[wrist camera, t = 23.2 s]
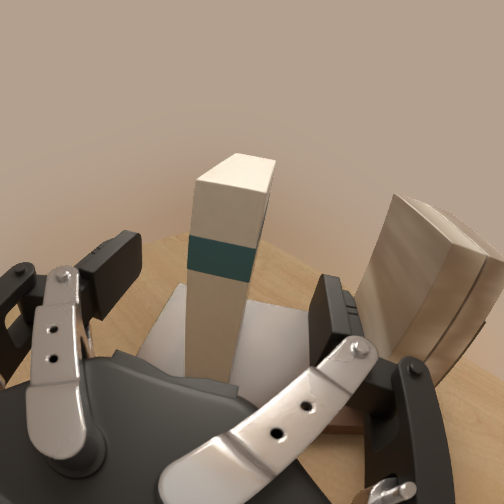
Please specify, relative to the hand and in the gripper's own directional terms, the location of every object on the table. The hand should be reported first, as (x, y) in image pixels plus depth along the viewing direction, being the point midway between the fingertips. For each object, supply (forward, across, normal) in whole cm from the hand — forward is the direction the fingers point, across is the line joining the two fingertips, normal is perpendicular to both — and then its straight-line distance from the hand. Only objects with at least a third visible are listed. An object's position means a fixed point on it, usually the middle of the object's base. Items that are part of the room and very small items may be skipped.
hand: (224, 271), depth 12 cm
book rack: (+4, -6, +9) cm, 12 cm away
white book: (+4, 0, +8) cm, 9 cm away
